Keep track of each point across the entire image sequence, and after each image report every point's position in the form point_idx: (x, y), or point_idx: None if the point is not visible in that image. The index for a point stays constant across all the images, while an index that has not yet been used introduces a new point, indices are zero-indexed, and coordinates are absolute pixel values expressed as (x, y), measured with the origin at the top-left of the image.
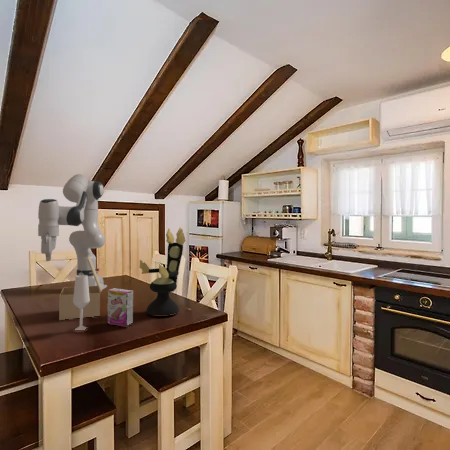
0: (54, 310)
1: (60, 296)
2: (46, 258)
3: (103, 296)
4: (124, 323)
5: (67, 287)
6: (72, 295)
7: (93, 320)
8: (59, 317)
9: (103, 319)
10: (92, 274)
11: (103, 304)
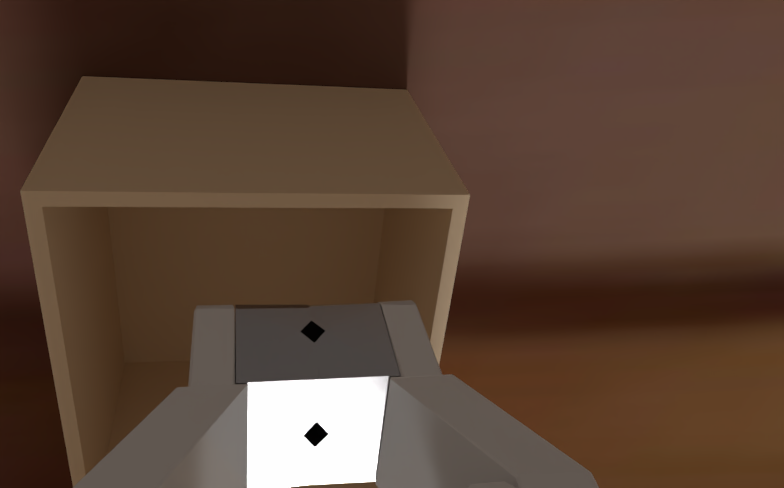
0: (439, 14)
1: (25, 195)
2: (194, 367)
3: (679, 364)
4: None
5: (456, 242)
6: (45, 316)
7: (26, 329)
8: (77, 88)
9: (40, 387)
10: None
11: (452, 372)
